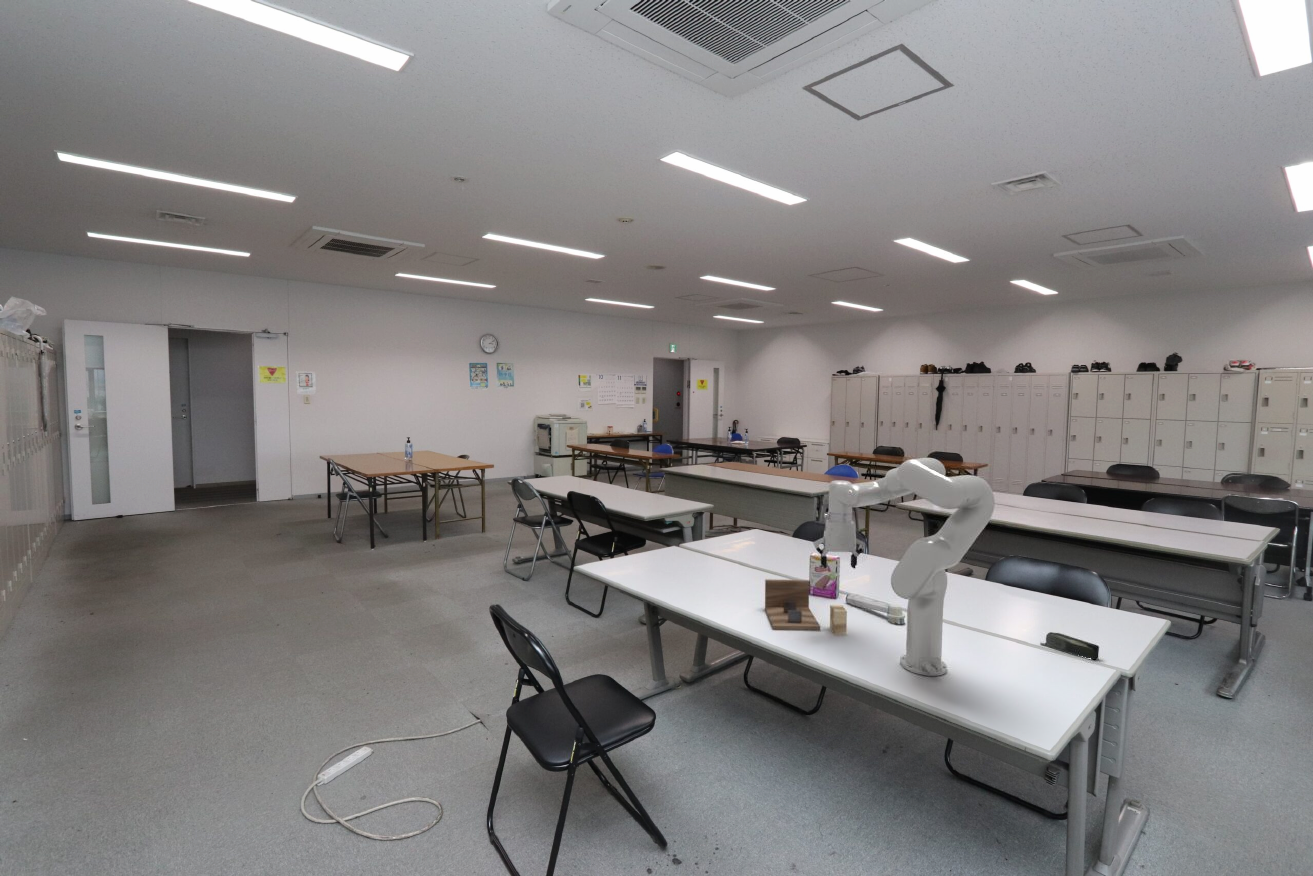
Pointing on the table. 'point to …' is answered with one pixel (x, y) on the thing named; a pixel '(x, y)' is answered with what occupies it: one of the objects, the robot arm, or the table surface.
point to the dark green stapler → (1071, 645)
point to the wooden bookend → (789, 605)
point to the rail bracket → (838, 619)
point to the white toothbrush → (878, 607)
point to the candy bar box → (824, 576)
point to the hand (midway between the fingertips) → (838, 567)
